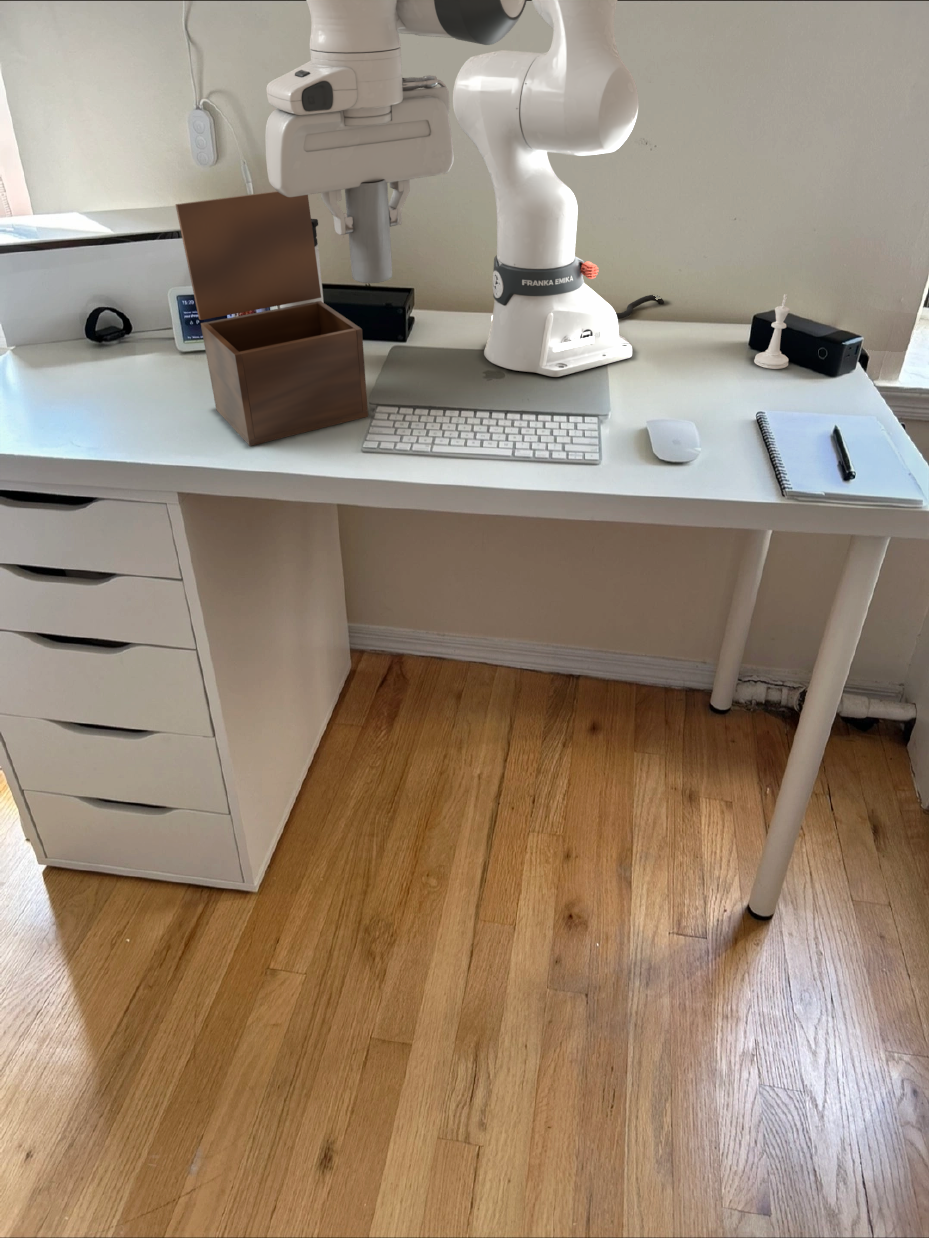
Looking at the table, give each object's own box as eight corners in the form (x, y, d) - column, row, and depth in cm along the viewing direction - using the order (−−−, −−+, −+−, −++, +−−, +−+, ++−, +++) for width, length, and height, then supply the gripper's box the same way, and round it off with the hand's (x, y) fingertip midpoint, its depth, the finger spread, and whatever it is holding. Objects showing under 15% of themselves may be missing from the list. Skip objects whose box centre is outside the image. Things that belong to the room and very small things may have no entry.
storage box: (368, 416, 120) (362, 328, 112) (249, 446, 113) (234, 355, 105) (328, 384, 128) (320, 300, 121) (216, 410, 121) (200, 323, 114)
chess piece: (751, 366, 133) (765, 298, 127) (756, 354, 137) (769, 287, 130) (786, 371, 131) (801, 302, 125) (789, 359, 135) (805, 291, 129)
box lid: (307, 188, 113) (304, 187, 113) (177, 205, 106) (175, 204, 107) (321, 297, 120) (319, 296, 121) (200, 320, 113) (198, 319, 114)
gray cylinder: (361, 286, 99) (353, 184, 92) (346, 274, 102) (337, 175, 95) (399, 279, 100) (393, 179, 94) (382, 268, 103) (376, 170, 97)
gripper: (433, 70, 95) (436, 209, 104) (250, 87, 87) (270, 236, 96) (463, 77, 91) (465, 221, 100) (274, 96, 83) (293, 251, 92)
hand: (368, 229), depth 98 cm, fingers closed on gray cylinder, 4 cm apart
